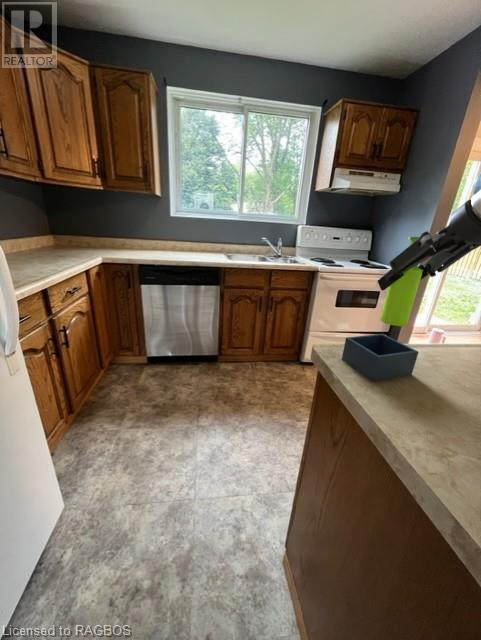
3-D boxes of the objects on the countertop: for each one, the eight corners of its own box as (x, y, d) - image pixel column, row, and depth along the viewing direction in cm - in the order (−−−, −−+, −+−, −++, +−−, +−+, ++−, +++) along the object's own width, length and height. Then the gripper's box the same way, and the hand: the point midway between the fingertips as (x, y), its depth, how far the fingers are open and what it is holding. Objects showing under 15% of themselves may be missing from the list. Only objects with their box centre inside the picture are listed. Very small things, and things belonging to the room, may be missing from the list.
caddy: (377, 354, 80) (382, 333, 77) (411, 374, 69) (418, 351, 67) (341, 359, 76) (345, 337, 73) (372, 381, 65) (378, 357, 63)
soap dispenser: (414, 328, 62) (442, 238, 56) (381, 323, 64) (404, 235, 58) (408, 321, 67) (433, 238, 61) (378, 316, 69) (399, 235, 63)
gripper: (455, 227, 42) (364, 299, 62) (539, 231, 47) (429, 297, 67) (434, 192, 45) (353, 272, 65) (515, 200, 50) (416, 272, 70)
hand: (392, 285), depth 66 cm, fingers closed on soap dispenser, 6 cm apart
